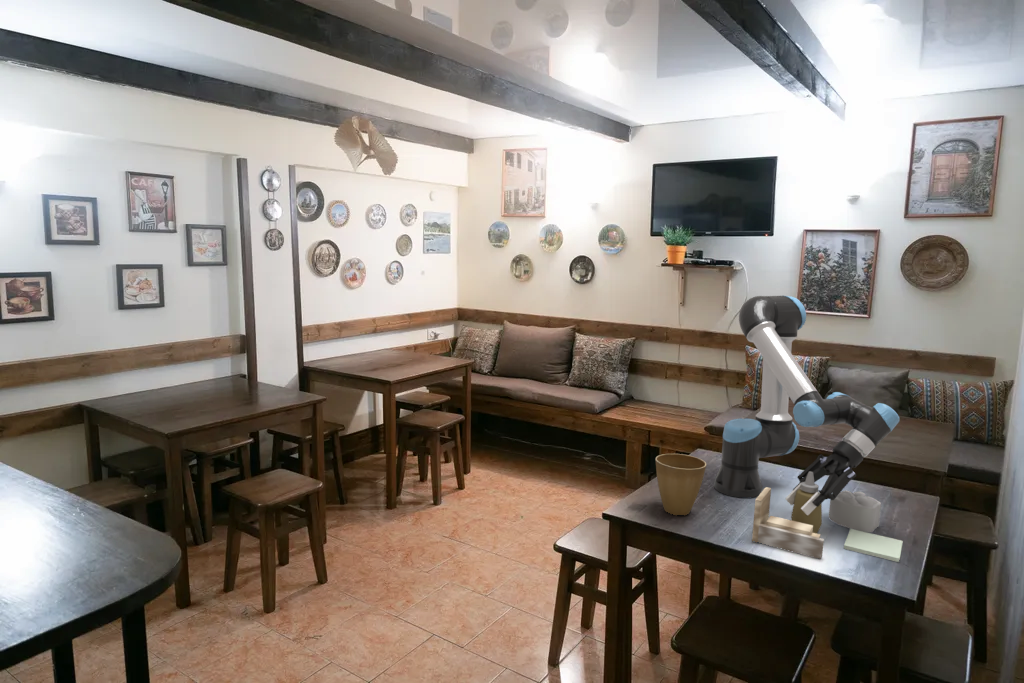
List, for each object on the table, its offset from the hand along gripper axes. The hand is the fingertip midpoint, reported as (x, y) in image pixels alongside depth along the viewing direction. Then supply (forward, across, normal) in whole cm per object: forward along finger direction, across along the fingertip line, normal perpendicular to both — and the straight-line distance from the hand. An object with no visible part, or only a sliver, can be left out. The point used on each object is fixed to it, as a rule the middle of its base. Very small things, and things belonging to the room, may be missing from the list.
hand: (796, 506), depth 185 cm
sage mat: (-6, -11, -18) cm, 22 cm away
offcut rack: (+9, -5, -2) cm, 10 cm away
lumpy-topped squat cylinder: (-10, +5, -22) cm, 25 cm away
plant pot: (+24, +20, +13) cm, 34 cm away
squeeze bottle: (+3, 0, -8) cm, 9 cm away
